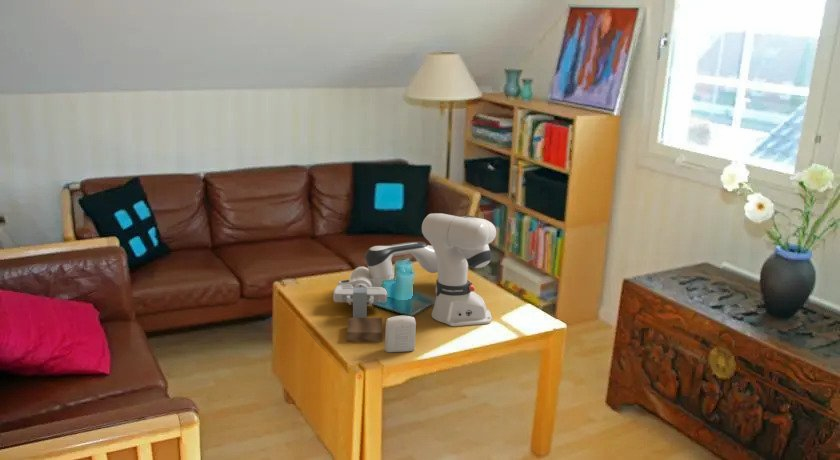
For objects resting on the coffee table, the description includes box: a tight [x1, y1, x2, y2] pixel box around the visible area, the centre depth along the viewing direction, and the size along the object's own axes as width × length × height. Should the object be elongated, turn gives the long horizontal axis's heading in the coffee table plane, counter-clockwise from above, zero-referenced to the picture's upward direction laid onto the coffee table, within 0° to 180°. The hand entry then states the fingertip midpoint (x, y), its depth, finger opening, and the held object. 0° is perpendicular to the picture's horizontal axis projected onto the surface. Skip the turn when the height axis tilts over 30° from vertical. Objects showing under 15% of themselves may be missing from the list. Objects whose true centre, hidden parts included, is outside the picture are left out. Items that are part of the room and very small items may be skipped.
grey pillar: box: [352, 288, 368, 318], centre depth 268 cm, size 5×5×11 cm
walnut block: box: [346, 317, 383, 343], centre depth 256 cm, size 12×12×4 cm
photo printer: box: [384, 315, 417, 353], centre depth 244 cm, size 10×4×12 cm, turn 103°
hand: (359, 303), depth 267 cm, fingers closed on grey pillar, 5 cm apart
